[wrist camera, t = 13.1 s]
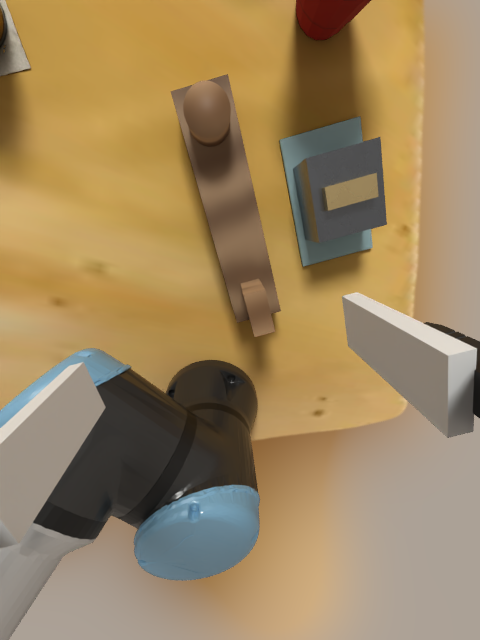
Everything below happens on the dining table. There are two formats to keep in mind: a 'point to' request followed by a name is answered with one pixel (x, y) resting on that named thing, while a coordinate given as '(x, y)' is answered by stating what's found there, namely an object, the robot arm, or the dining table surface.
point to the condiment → (10, 44)
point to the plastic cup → (326, 16)
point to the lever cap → (341, 191)
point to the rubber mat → (292, 155)
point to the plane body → (228, 198)
